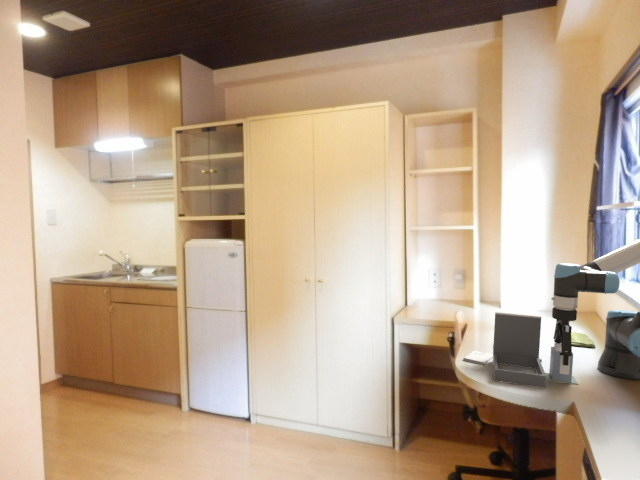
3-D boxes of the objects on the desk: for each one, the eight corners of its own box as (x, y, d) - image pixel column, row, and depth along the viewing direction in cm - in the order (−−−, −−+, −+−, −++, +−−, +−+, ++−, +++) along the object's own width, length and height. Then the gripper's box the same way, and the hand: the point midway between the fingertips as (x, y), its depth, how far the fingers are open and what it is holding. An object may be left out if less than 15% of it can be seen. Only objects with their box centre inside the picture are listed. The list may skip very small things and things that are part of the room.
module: (568, 376, 160) (570, 347, 160) (571, 382, 155) (573, 352, 154) (549, 373, 162) (551, 345, 162) (551, 379, 157) (553, 350, 156)
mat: (574, 377, 160) (574, 376, 160) (578, 384, 154) (578, 383, 154) (543, 373, 164) (543, 372, 164) (545, 380, 157) (545, 379, 157)
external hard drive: (463, 361, 176) (473, 353, 186) (484, 366, 171) (493, 358, 181) (463, 357, 176) (473, 349, 186) (484, 362, 171) (493, 354, 181)
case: (540, 367, 170) (543, 316, 168) (548, 388, 150) (551, 330, 148) (492, 361, 175) (495, 311, 174) (494, 380, 156) (497, 325, 154)
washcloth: (563, 346, 199) (563, 339, 198) (555, 335, 215) (556, 329, 215) (597, 349, 195) (597, 342, 194) (586, 338, 211) (587, 332, 211)
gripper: (547, 300, 170) (544, 355, 171) (558, 314, 146) (554, 378, 148) (570, 301, 167) (566, 357, 169) (584, 317, 144) (580, 381, 145)
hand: (560, 367), depth 158 cm, fingers open, 13 cm apart
